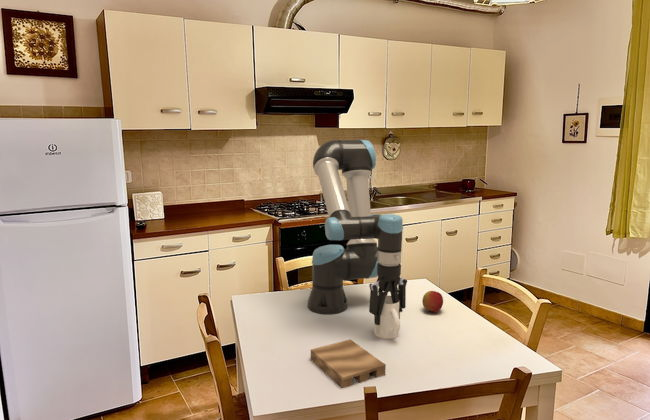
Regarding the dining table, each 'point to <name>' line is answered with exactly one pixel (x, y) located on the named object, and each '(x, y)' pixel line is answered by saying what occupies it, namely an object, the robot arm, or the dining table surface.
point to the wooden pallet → (347, 362)
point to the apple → (432, 301)
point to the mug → (390, 319)
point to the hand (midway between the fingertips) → (386, 331)
